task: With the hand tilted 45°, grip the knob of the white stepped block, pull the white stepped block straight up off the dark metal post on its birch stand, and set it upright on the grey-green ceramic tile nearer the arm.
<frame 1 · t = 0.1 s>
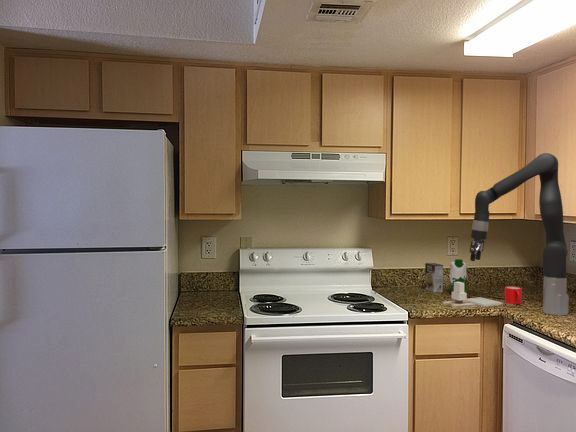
hand: (475, 260, 224), 22 cm above the countertop, tool pointing down, fingers open, 8 cm apart
post stand: (458, 305, 219), on the countertop
white stepped block: (459, 299, 219), point 3 cm above the countertop, touching post stand
tile: (482, 302, 225), on the countertop
coffee box: (433, 291, 257), on the countertop
milk carton: (458, 294, 247), on the countertop
mug: (515, 303, 223), on the countertop
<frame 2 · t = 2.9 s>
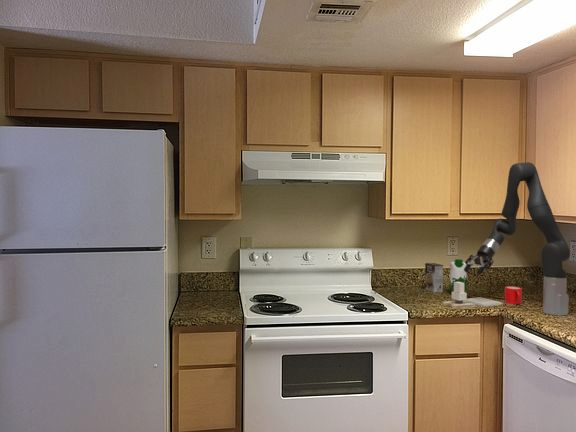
hand: (471, 272, 222), 16 cm above the countertop, tool tilted 45°, fingers open, 8 cm apart
nothing on the countertop moved.
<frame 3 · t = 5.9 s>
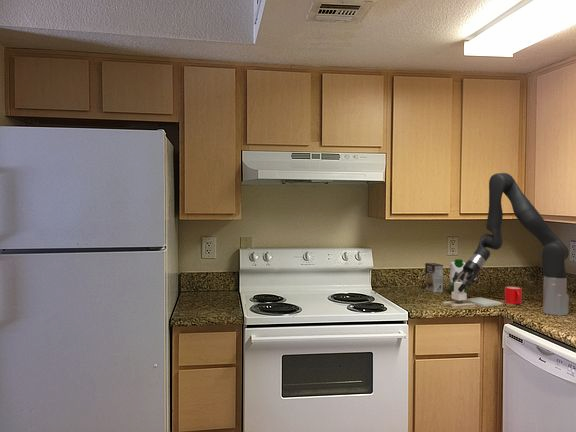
hand: (456, 289, 218), 8 cm above the countertop, tool tilted 45°, fingers closed on white stepped block, 4 cm apart
white stepped block: (458, 299, 219), point 3 cm above the countertop, touching gripper, post stand
everything else where it was.
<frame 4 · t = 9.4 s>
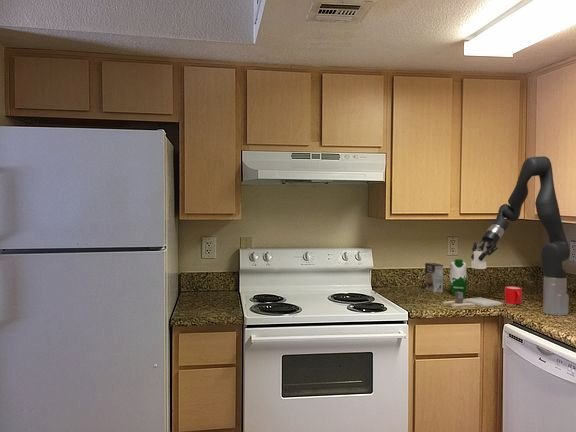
hand: (476, 259, 222), 23 cm above the countertop, tool tilted 45°, fingers closed on white stepped block, 4 cm apart
white stepped block: (478, 268, 223), point 18 cm above the countertop, touching gripper
everything else where it was.
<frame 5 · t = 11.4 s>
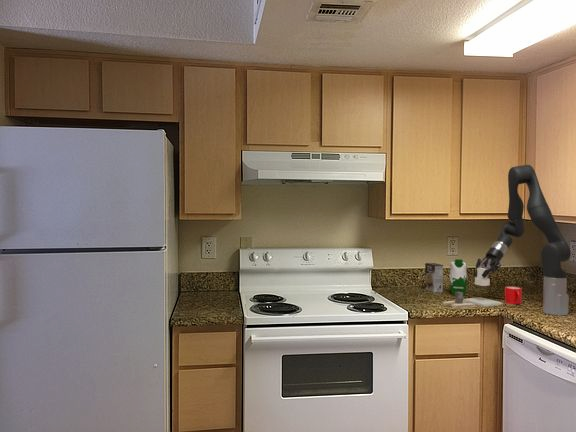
hand: (479, 275, 224), 14 cm above the countertop, tool tilted 45°, fingers closed on white stepped block, 4 cm apart
white stepped block: (482, 284, 225), point 9 cm above the countertop, touching gripper
everything else where it was.
when the fingers open (7 cm above the countertop, at t = 13.0 s): white stepped block drops 1 cm, resting on tile.
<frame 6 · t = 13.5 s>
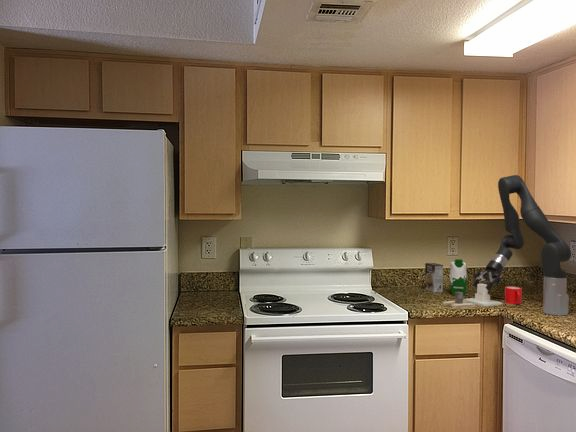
hand: (480, 287, 225), 8 cm above the countertop, tool tilted 45°, fingers open, 8 cm apart
white stepped block: (482, 300, 225), point 1 cm above the countertop, touching tile
everything else where it was.
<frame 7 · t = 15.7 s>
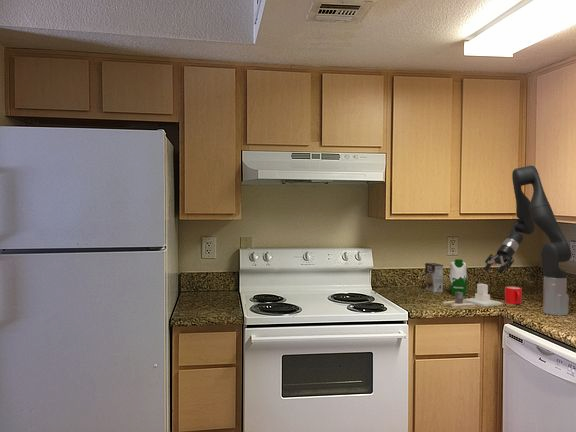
hand: (492, 271, 227), 16 cm above the countertop, tool tilted 45°, fingers open, 8 cm apart
nothing on the countertop moved.
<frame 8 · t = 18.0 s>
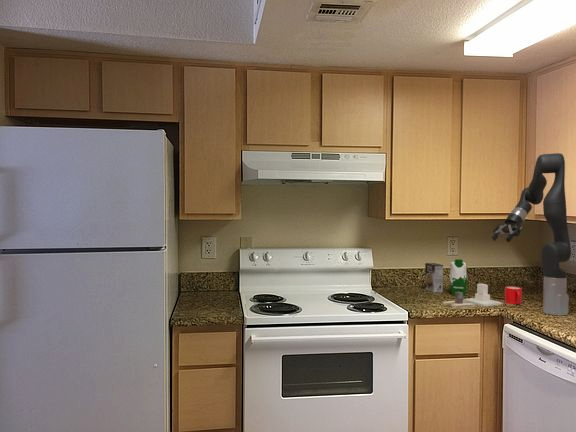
hand: (500, 240, 224), 33 cm above the countertop, tool tilted 45°, fingers open, 8 cm apart
nothing on the countertop moved.
at the end: white stepped block inside the target area on the tile (0.1 cm from its centre), point 1.0 cm above the tile's base; white stepped block tilted 0°; the gripper is holding nothing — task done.
